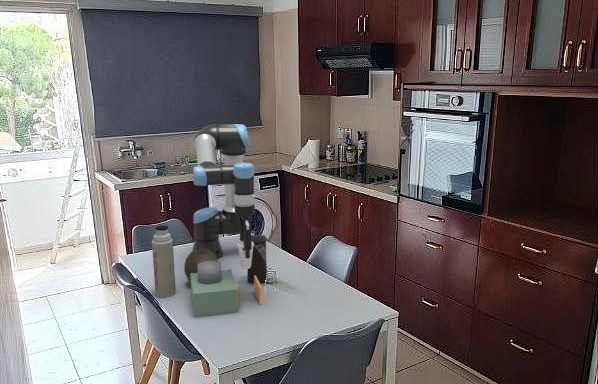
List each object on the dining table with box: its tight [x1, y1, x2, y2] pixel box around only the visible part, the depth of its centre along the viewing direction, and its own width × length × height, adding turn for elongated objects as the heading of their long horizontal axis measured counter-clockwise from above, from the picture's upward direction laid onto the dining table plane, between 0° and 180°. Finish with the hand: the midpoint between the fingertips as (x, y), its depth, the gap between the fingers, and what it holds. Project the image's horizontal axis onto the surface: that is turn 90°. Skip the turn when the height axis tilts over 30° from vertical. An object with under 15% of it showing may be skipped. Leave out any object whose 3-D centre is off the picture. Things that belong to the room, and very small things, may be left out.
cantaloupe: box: [183, 249, 219, 283], centre depth 206 cm, size 14×14×15 cm
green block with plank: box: [190, 260, 263, 318], centre depth 189 cm, size 20×26×15 cm
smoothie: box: [236, 240, 254, 270], centre depth 188 cm, size 6×6×14 cm
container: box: [247, 234, 268, 285], centre depth 208 cm, size 9×9×20 cm
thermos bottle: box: [151, 224, 177, 298], centre depth 195 cm, size 8×8×28 cm
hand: (246, 262), depth 189 cm, fingers closed on smoothie, 6 cm apart
